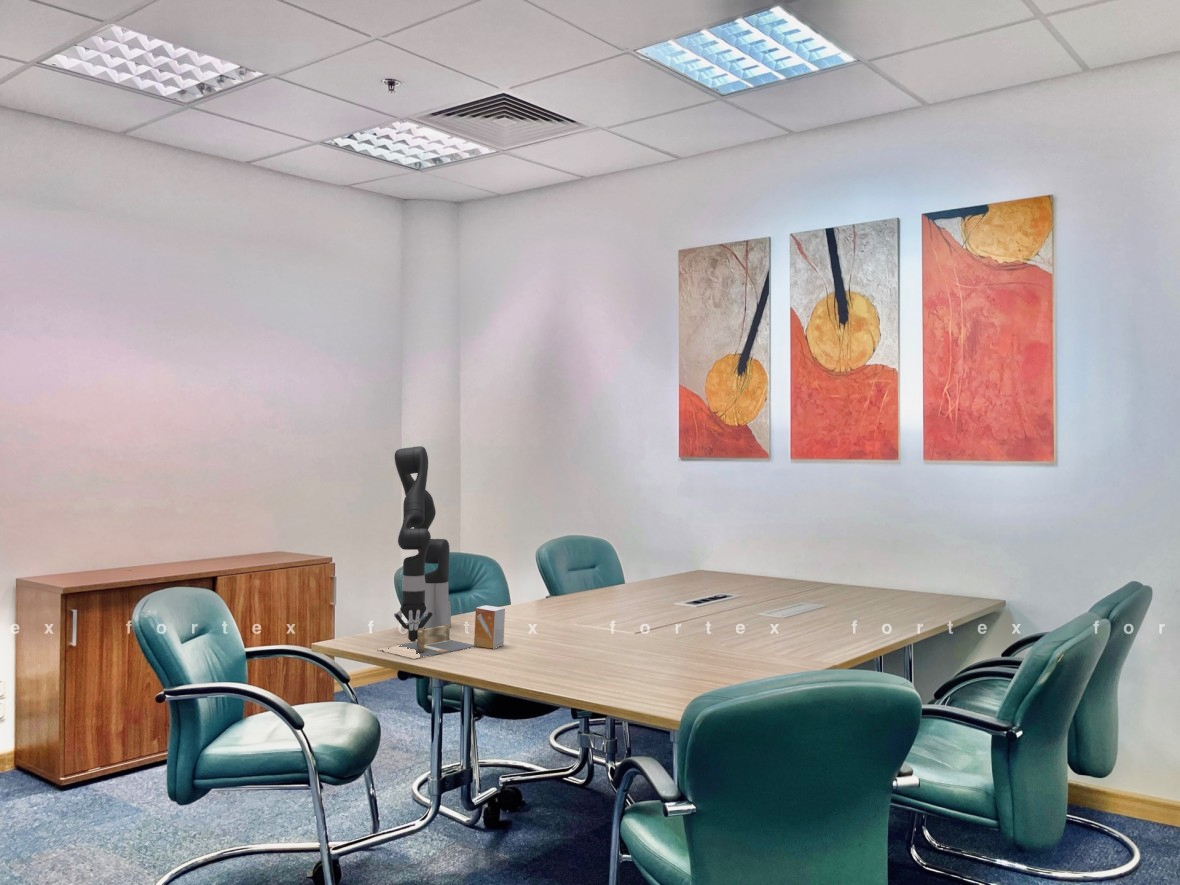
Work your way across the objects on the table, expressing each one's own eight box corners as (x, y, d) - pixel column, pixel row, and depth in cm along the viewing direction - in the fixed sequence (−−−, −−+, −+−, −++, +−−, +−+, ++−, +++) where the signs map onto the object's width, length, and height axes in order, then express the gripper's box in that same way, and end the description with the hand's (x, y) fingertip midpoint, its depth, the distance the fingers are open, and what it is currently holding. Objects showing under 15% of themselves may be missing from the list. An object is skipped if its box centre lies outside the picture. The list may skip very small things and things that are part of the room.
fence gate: (417, 645, 329) (417, 629, 329) (422, 645, 329) (422, 629, 329) (418, 652, 318) (418, 636, 318) (424, 651, 318) (424, 635, 318)
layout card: (439, 638, 344) (439, 636, 344) (477, 646, 329) (477, 645, 329) (376, 650, 325) (376, 648, 325) (413, 659, 311) (413, 657, 311)
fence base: (447, 639, 340) (447, 623, 340) (450, 640, 338) (450, 623, 338) (415, 645, 330) (415, 628, 330) (419, 646, 329) (419, 629, 329)
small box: (473, 645, 329) (475, 607, 329) (484, 642, 335) (486, 604, 334) (493, 649, 325) (494, 610, 325) (504, 645, 331) (505, 607, 330)
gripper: (431, 586, 328) (430, 638, 327) (391, 588, 323) (390, 640, 323) (435, 589, 321) (435, 642, 320) (395, 591, 316) (394, 644, 316)
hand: (412, 641), depth 321 cm, fingers closed
